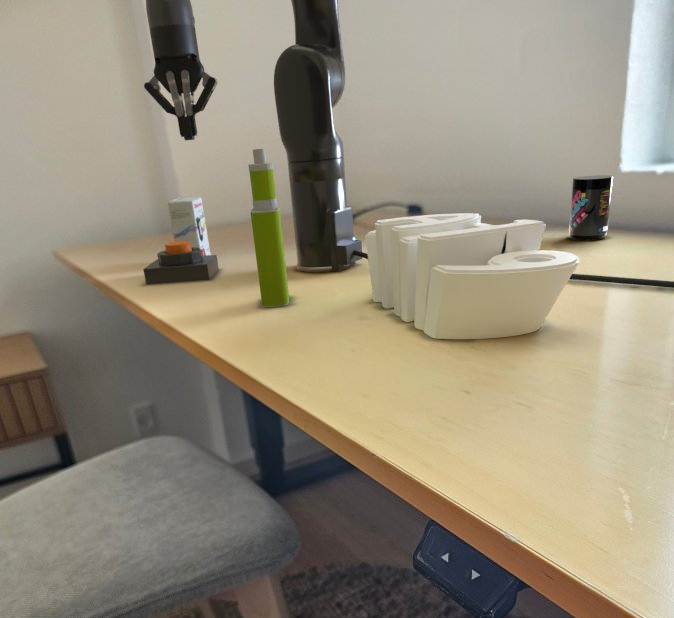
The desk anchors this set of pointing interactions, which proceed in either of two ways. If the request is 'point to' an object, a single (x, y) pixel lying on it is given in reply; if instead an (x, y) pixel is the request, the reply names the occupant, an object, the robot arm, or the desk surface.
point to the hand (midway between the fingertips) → (189, 139)
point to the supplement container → (590, 207)
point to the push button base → (181, 267)
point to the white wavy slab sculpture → (466, 274)
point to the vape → (267, 233)
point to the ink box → (189, 222)
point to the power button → (178, 247)
